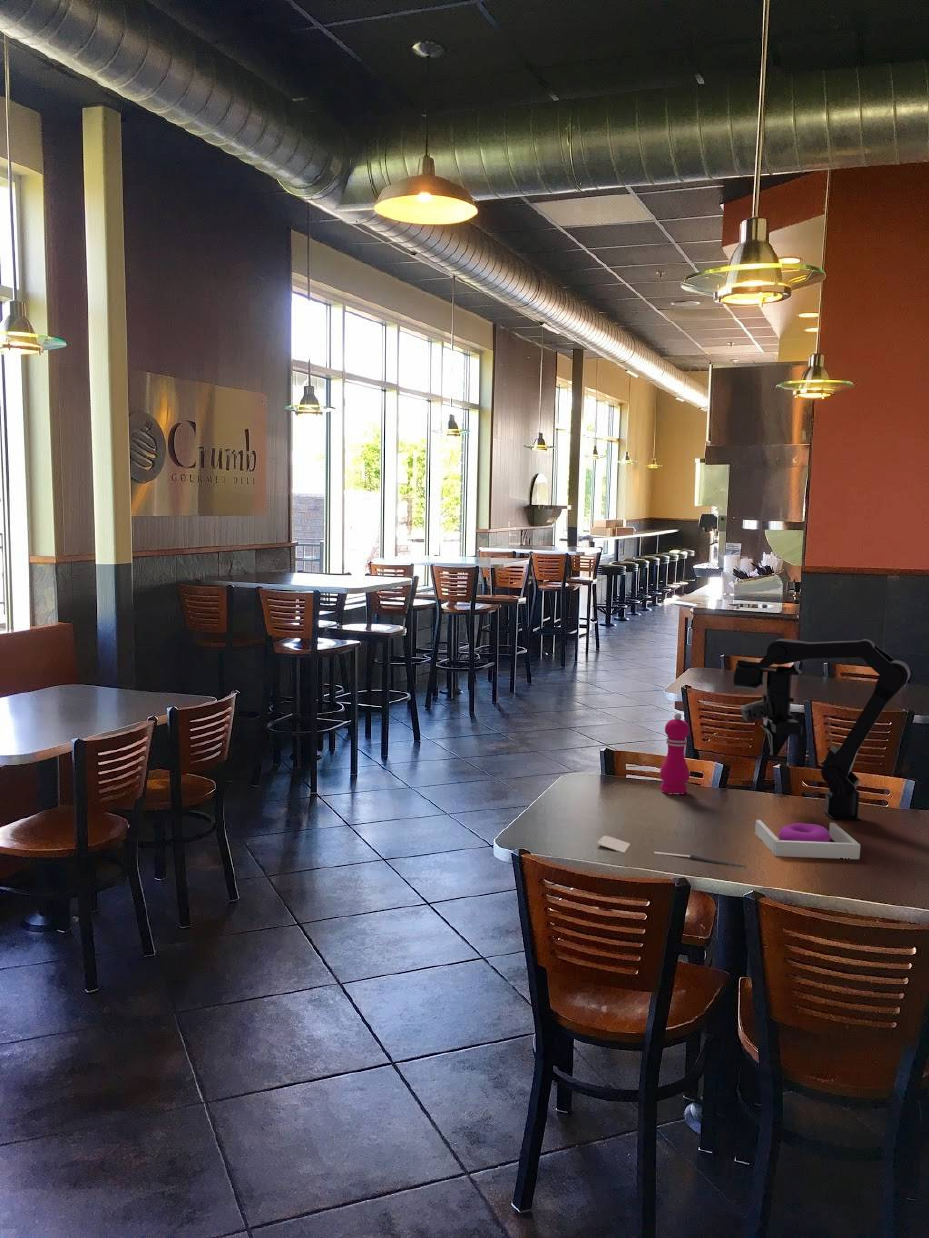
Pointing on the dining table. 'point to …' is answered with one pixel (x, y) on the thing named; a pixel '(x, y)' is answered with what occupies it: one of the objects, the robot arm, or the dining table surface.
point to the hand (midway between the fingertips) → (774, 755)
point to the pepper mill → (675, 757)
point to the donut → (804, 833)
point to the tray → (811, 844)
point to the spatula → (622, 847)
